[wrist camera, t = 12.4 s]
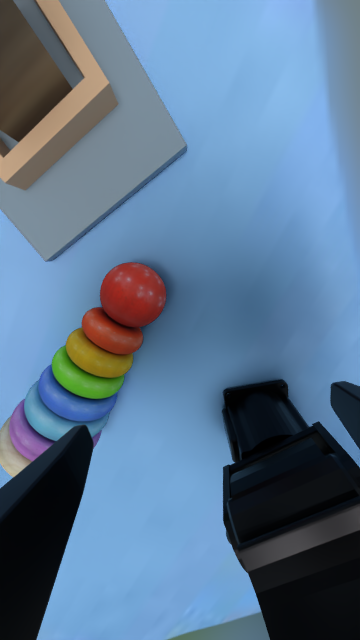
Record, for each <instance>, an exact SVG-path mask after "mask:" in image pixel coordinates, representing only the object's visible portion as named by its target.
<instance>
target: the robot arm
mask: <svg viewBox="0 0 360 640" xmlns="http://www.w3.org/2000/svg"><path fill="white" fill-rule="evenodd" d="M282 384H283V386H281V385H282ZM228 393H230V394H229V395H227V394H228ZM223 396H224V402H225V408H224V409H223V410H222V415H223V421H224V427H225V431H226V435H227V439H228V443H229V447H230V451H231V455H232V460H233V461H234V462H235V463H234V464H232V465H226V466H224V467H223V521H224V525H225V528H226V536H227V539H228V541H229V543H230V544H231V545H232V547H233V550H234V552H235V554H236V556H237V558H238V560H239V562H240V564H241V566H242V567H243V569H244V570H245V571H246V572H247V573H248V574H249V577H250V580H251V582H252V585H253V587H254V590H255V593H256V596H257V599H258V602H259V605H260V608H261V611H262V614H263V618H264V621H265V624H266V627H267V631H268V634H269V637H270V640H360V468H359V466H358V465H357V464H356V463H355V461H354V460H353V459H352V458H351V457H350V456H349V454H348V453H347V452H346V451H345V450H344V449H343V448H342V447H341V445H340V444H339V443H338V442H337V441H336V440H335V439H334V438H333V437H332V435H331V434H330V433H329V432H328V431H327V430H326V429H325V428H324V427H323V426H322V424H321V423H320V422H319V421H318V422H316V423H314V424H312V425H313V426H311V427H309V426H308V425H307V423H306V422H305V420H304V419H303V418H302V416H301V415H300V414H299V412H298V411H297V409H296V408H295V407H294V405H293V404H292V403H291V401H290V400H289V398H288V385H287V383H286V382H285V381H284V380H278V381H272V382H266V383H260V384H254V385H248V386H242V387H236V388H230V389H226V390H224V392H223ZM330 401H331V406H332V408H333V410H334V412H335V413H336V415H337V416H338V418H339V419H340V421H341V422H342V424H343V425H344V427H345V428H346V430H347V431H348V433H349V434H350V436H351V437H352V439H353V440H354V442H355V443H356V445H357V446H358V448H359V449H360V386H357V385H354V384H352V383H349V382H346V381H341V382H335V383H332V384H331V400H330ZM93 447H94V442H93V439H92V436H91V434H90V432H89V429H88V427H87V426H86V425H78V426H74V427H73V428H71V429H70V430H69V431H68V432H67V433H66V434H64V435H63V436H62V437H61V438H60V439H58V440H57V441H56V442H55V443H54V444H52V445H51V446H50V447H49V448H48V449H47V450H45V451H44V452H43V453H42V454H41V455H39V456H38V457H37V458H36V459H35V460H34V461H32V462H31V463H30V464H29V465H28V466H26V467H25V468H24V469H23V470H22V471H20V472H19V473H18V474H17V475H16V476H15V477H13V478H12V479H11V480H10V481H9V482H7V483H6V484H5V485H4V486H3V487H2V488H0V640H36V639H37V636H38V633H39V630H40V627H41V623H42V620H43V617H44V614H45V611H46V608H47V605H48V602H49V598H50V595H51V592H52V589H53V586H54V583H55V580H56V577H57V573H58V570H59V567H60V564H61V561H62V558H63V555H64V552H65V548H66V545H67V542H68V539H69V536H70V533H71V530H72V527H73V523H74V520H75V517H76V514H77V511H78V508H79V505H80V502H81V498H82V495H83V491H84V487H85V483H86V479H87V474H88V470H89V465H90V461H91V456H92V452H93Z"/></svg>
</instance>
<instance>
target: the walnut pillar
mask: <svg viewBox="0 0 360 640" xmlns="http://www.w3.org/2000/svg"><path fill="white" fill-rule="evenodd" d="M72 90H73V89H72V87H71V86H70V84H69V83H68V81H67V80H66V78H65V77H64V75H63V74H62V72H61V71H60V69H59V68H58V66H57V65H56V63H55V62H54V60H53V59H52V57H51V56H50V54H49V53H48V52H47V50H46V49H45V47H44V46H43V44H42V43H41V41H40V40H39V38H38V37H37V35H36V34H35V32H34V31H33V29H32V28H31V26H30V25H29V23H28V22H27V20H26V19H25V17H24V16H23V14H22V13H21V11H20V10H19V8H18V7H17V5H16V4H15V2H14V1H13V0H0V130H1V131H2V132H4V133H5V134H7V135H8V136H10V137H11V138H13V139H14V140H16V141H17V142H20V141H21V140H22V139H23V138H24V137H25V136H26V135H27V134H28V133H29V132H30V131H31V130H32V129H33V128H34V127H35V126H36V125H37V124H38V123H39V122H40V121H41V120H42V119H43V118H44V117H45V116H46V115H47V114H48V113H49V112H50V111H51V110H52V109H53V108H54V107H55V106H57V105H58V104H59V103H60V102H61V101H62V100H63V99H64V98H65V97H66V96H67V95H68V94H69V93H70V92H71V91H72Z"/></svg>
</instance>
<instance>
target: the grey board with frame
mask: <svg viewBox="0 0 360 640" xmlns="http://www.w3.org/2000/svg"><path fill="white" fill-rule="evenodd" d="M13 1H14V2H15V4H16V5H17V7H18V8H19V10H20V11H21V13H22V14H23V16H24V17H25V19H26V20H27V22H28V23H29V25H30V26H31V28H32V29H33V31H34V32H35V34H36V35H37V37H38V38H39V40H40V41H41V43H42V44H43V46H44V47H45V49H46V50H47V52H48V53H49V54H50V56H51V57H52V59H53V60H54V62H55V63H56V65H57V66H58V68H59V69H60V71H61V72H62V74H63V75H64V77H65V78H66V80H67V81H68V83H69V84H70V86H71V87H72V89H73V90H72V91H71V92H70V93H69V94H68V95H67V96H66V97H65V98H64V99H63V100H62V101H61V102H60V103H59V104H58V105H57V106H55V107H54V108H53V109H52V110H51V111H50V112H49V113H48V114H47V115H46V116H45V117H44V118H43V119H42V120H41V121H40V122H39V123H38V124H37V125H36V126H35V127H34V128H33V129H32V130H31V131H30V132H29V133H28V134H27V135H26V136H25V137H24V138H23V139H22V140H21V141H20V142H17V141H16V140H14V139H13V138H11V137H10V136H8V135H7V134H5V133H4V132H2V131H1V130H0V209H1V210H2V212H3V213H4V214H5V215H6V216H7V217H8V219H9V220H10V221H11V222H12V223H13V224H14V226H15V227H16V228H17V229H18V230H19V231H20V233H21V234H22V235H23V236H24V237H25V238H26V240H27V241H28V242H29V243H30V244H31V245H32V247H33V248H34V249H35V250H36V251H37V252H38V254H39V255H40V256H41V257H42V258H43V259H44V261H45V262H46V261H53V260H54V259H55V258H56V257H57V256H59V255H60V254H61V253H62V252H64V251H65V250H66V249H67V248H68V247H70V246H71V245H72V244H73V243H75V242H76V241H77V240H78V239H79V238H81V237H82V236H83V235H84V234H85V233H87V232H88V231H89V230H90V229H92V228H93V227H94V226H95V225H96V224H98V223H99V222H100V221H101V220H103V219H104V218H105V217H106V216H107V215H109V214H110V213H111V212H112V211H114V210H115V209H116V208H117V207H118V206H120V205H121V204H122V203H123V202H125V201H126V200H127V199H128V198H129V197H131V196H132V195H133V194H134V193H135V192H137V191H138V190H139V189H140V188H142V187H143V186H144V185H145V184H146V183H148V182H149V181H150V180H151V179H153V178H154V177H155V176H156V175H157V174H159V173H160V172H161V171H162V170H164V169H165V168H166V167H167V166H168V165H170V164H171V163H172V162H173V161H175V160H176V159H177V158H178V157H179V156H181V155H182V154H183V153H184V152H186V150H187V144H186V142H185V141H184V139H183V137H182V135H181V134H180V132H179V130H178V128H177V127H176V125H175V123H174V121H173V120H172V118H171V116H170V114H169V113H168V111H167V109H166V107H165V106H164V104H163V102H162V100H161V99H160V97H159V95H158V93H157V91H156V90H155V88H154V86H153V84H152V83H151V81H150V79H149V77H148V76H147V74H146V72H145V70H144V69H143V67H142V65H141V63H140V62H139V60H138V58H137V56H136V55H135V53H134V51H133V49H132V48H131V46H130V44H129V42H128V41H127V39H126V37H125V35H124V33H123V32H122V30H121V28H120V26H119V25H118V23H117V21H116V19H115V18H114V16H113V14H112V12H111V11H110V9H109V7H108V5H107V4H106V2H105V0H13Z"/></svg>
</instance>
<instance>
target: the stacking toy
mask: <svg viewBox="0 0 360 640" xmlns="http://www.w3.org/2000/svg"><path fill="white" fill-rule="evenodd" d="M100 300H101V304H102V306H103V307H97V308H92V309H91V310H89V311H87V312H86V313H85V315H84V316H83V319H82V328H79V329H77V330H75V331H73V332H72V333H71V334H70V335H69V337H68V339H67V342H66V345H65V346H63V347H61V348H60V349H59V350H58V351H57V352H56V353H55V355H54V357H53V360H52V364H51V365H49V366H48V367H47V368H46V369H45V370H44V371H43V373H42V374H41V376H40V379H39V380H38V381H37V382H36V383H35V384H34V385H33V386H32V387H31V388H30V390H29V391H28V393H27V395H26V398H25V399H23V400H22V401H21V402H20V403H19V404H18V406H17V407H16V408H15V410H14V412H13V414H12V416H11V417H10V418H8V420H7V421H6V422H5V423H4V425H3V427H2V428H1V430H0V463H1V465H2V467H3V468H4V469H5V470H6V472H7V473H9V474H10V475H11V476H12V477H15V476H16V475H17V474H18V473H19V472H20V471H22V470H23V469H24V468H25V467H26V466H28V465H29V464H30V463H31V462H32V461H34V460H35V459H36V458H37V457H38V456H39V455H41V454H42V453H43V452H44V451H45V450H47V449H48V448H49V447H50V446H51V445H52V444H54V443H55V442H56V441H57V440H58V439H60V438H61V437H62V436H63V435H64V434H66V433H67V432H68V431H69V430H70V429H71V428H73V427H74V426H78V425H86V426H87V427H88V429H89V432H90V434H91V436H92V439H93V442H94V447H95V446H96V444H97V442H98V440H99V438H100V435H101V430H102V428H103V427H104V426H105V424H106V422H107V420H108V417H109V411H110V410H111V409H112V408H113V406H114V405H115V403H116V399H117V391H118V390H119V389H120V388H121V386H122V384H123V381H124V374H125V373H126V372H127V371H128V370H129V369H130V368H131V366H132V363H133V354H132V353H134V352H135V351H137V350H138V349H139V348H140V346H141V345H142V342H143V334H142V331H141V329H140V328H139V327H142V326H145V325H147V324H149V323H151V322H153V321H154V320H155V319H156V318H157V317H158V316H159V315H160V314H161V312H162V310H163V308H164V306H165V302H166V289H165V286H164V283H163V281H162V279H161V277H160V276H159V275H158V274H157V273H156V272H155V271H154V270H152V269H151V268H150V267H148V266H146V265H143V264H140V263H133V262H130V263H124V264H120V265H118V266H116V267H114V268H113V269H112V270H110V271H109V273H108V274H107V275H106V276H105V278H104V280H103V282H102V285H101V290H100ZM94 447H93V448H94Z"/></svg>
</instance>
